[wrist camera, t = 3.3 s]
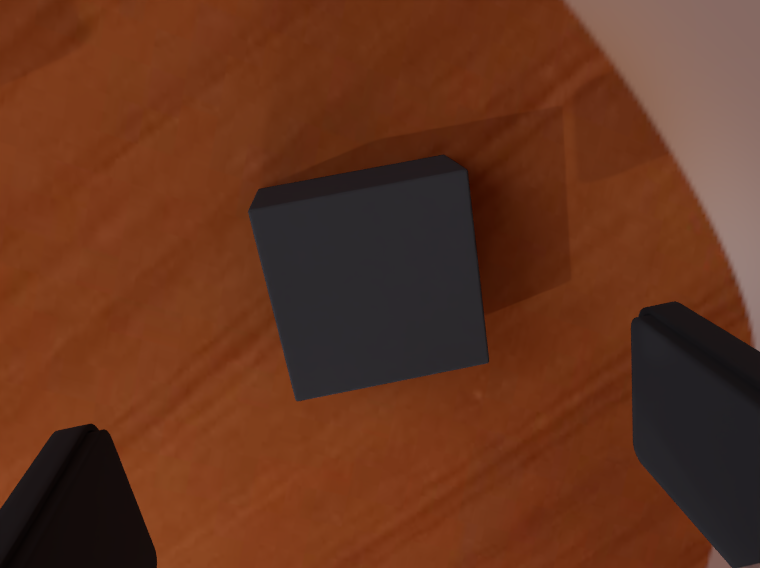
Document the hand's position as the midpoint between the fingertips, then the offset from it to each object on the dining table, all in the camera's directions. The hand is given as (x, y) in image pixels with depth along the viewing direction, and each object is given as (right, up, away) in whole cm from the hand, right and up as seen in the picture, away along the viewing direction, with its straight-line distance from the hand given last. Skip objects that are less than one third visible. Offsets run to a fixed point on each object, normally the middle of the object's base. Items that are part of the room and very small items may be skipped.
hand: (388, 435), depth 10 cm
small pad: (0, +3, +9) cm, 10 cm away
